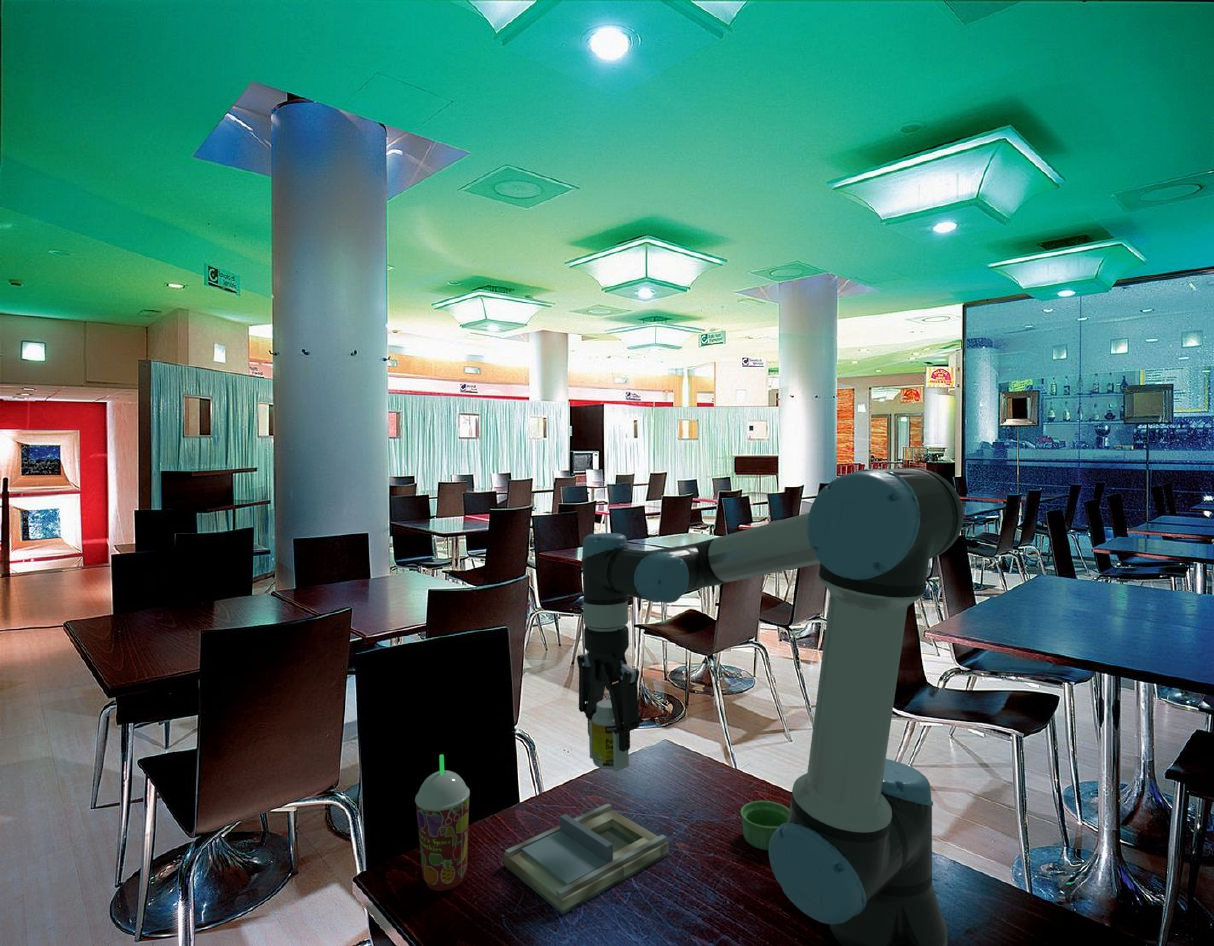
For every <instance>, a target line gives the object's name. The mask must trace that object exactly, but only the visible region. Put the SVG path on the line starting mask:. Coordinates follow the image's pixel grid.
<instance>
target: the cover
mask: <svg viewBox="0 0 1214 946" xmlns="http://www.w3.org/2000/svg"><path fill="white" fill-rule="evenodd" d="M574 819H575V818H573V817H571V816H570V815H569V814H567V813H565V814H564V813H563V814H562V815H560V816H559V825H560V831H559V832H556V833H554V834H552V835H550V836H548V837H546V838H543V839H541V840H539V841H537V842H535V843H533V844H531V845H528V846H526V847H524V848H522V853H524V854H525V855H526V856H527V857H529V858H530V859H531V860H533V861H534V862H535V863H537V864H538V865H539V866H540V867H542V868H543V869H544V870H546V871H547V872H548V873H550V874H551V875H552V876H553V877H555V878H556V879H557V880H559V881H560V882H561V883H562V884H564V885H565V886H566V885H568V884H570V883H572V882H574V881H575V880H577V879H579V878H581V877H583V876H585V875H587V874H589V873H591V872H592V871H594V870H596V869H598V868H600V867H602V866H604V865H606V864H607V863H609V862H611V861H613V844H612V843H610V842H609V841H607V840H606V839H604V838H603V837H601V836H599V835H598V834H596V833H595V832H593V831H592V830H590V829H589V828H587V827H585V826H584V825H582V824H581V823H579V822H578V821H576V820H574Z"/></svg>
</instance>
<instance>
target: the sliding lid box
mask: <svg viewBox="0 0 1214 946" xmlns="http://www.w3.org/2000/svg"><path fill="white" fill-rule="evenodd" d="M612 807H613V805H612V804H611V803H609V802H608V803H606V804H603V805H601V806H599V807H597V808H593V809H592V810H589V811H588V812H586V813H584V814H582V815H579V816H577V817H574V818H573V819H574V820H576V821H578V822H579V823H581V824H582V825H584V826H585V827H587V828H589V829H590V830H592V831H593V832H595V833H596V834H598V835H599V836H601V837H603V838H604V839H606V840H607V841H609V842H610V843H612V844H613V861H611V862H609V863H607V864H606V865H604V866H602V867H600V868H598V869H596V870H594V871H592V872H591V873H589V874H587V875H585V876H583V877H581V878H579V879H577V880H575V881H574V882H572V883H570V884H568V885H566V886H565V885H564V884H562V883H561V882H560V881H559V880H557V879H556V878H555V877H553V876H552V875H551V874H550V873H548V872H547V871H546V870H544V869H543V868H542V867H540V866H539V865H538V864H537V863H535V862H534V861H533V860H531V859H530V858H529V857H527V856H526V855H525V854H524V853H522V848H524V847H526V846H528V845H531V844H533V843H535V842H537V841H539V840H541V839H543V838H546V837H548V836H550V835H552V834H554V833H556V832H559V831H560V824H559V825H557V826H555V827H553V828H551V829H548V830H546V831H544V832H542V833H539V834H538V835H536V836H534V837H531V838H529V839H527V840H525V841H523V842H520V843H518V844H515V845H513V846H511V847H509V848H507V849H505V852H504V853H503V866H504V867H505V868H507V870H509V871H510V872H511V873H513V875H514V876H516V877H517V878H518V879H520V880H521V881H522V882H523V883H525V885H527V887H529V888H530V889H532V890H533V891H534V892H536V894H537V895H539V896H540V897H541V898H543V899H544V900H545V901H546V902H547V903H548V904H549V905H551V906H552V907H553V908H554V909H556V910H557V911H558V912H559V913H560V914H562V915H565V914H566V913H568V912H570V911H571V910H574V909H575V908H577V907H579V906H581V905H582V904H584V903H586V902H588V901H590V900H591V899H593V898H594V897H596V896H598V895H600V894H602V893H604V892H606V891H607V890H609V889H610V888H612V887H614V886H616V885H618V884H619V883H621V882H623V881H625V880H627V879H628V878H630V877H631V876H633V875H636V874H637V873H639V872H641V871H643V870H644V869H646V868H648V867H650V866H652V865H653V864H655V863H657V862H658V861H660V860H662V859H664V858H665V857H667V856H669V855H670V847H669V846H670V843H669V842H668V841H667V836H666V835H664V834H660V835H656V834H654V832H651V831H649V830H648V829H646V828H644V827H643V826H641V825H639V824H638V823H636V822H634V821H632V820H631V819H629V818H627V817H625V816H623V815H622V814H620V813H619V812H618V811H615V810H613V809H612Z"/></svg>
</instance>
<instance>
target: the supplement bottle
mask: <svg viewBox="0 0 1214 946" xmlns="http://www.w3.org/2000/svg"><path fill="white" fill-rule="evenodd" d="M596 711H597V713H595V714H594V715H593V717H592V741H593V759H592V763H593V764H594V766H596V767H597V768H599V769H603V770H614V766H613V730H615V729H616V725H615V720H614V714H613V709H612V704H611V699H603V700H602V701H599V702H598V703H597V709H596ZM622 724H623V723H622Z"/></svg>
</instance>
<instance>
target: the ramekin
mask: <svg viewBox="0 0 1214 946" xmlns="http://www.w3.org/2000/svg"><path fill="white" fill-rule="evenodd" d="M789 813H790V808H788V807H787V806H785V805H783V804H781V803H780V802H779V803H778V802H776V801H775V802H774V801H769V800H755V801H751V802H748V803H746V804H745V805H743V806H742V807H741V809H740V817H741V823H742V832H743V838H744V839H745V841H746V842H747V843H748V844H749V845H751V846H752V847H754V848H757V849H760V850H763V851H769V842H770V839H771V837H772V835H773V833H774V832H775V831H776V830H777V827H778V826H780V825H782V824H783V823H786V822H787V821H788V818H789Z"/></svg>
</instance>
